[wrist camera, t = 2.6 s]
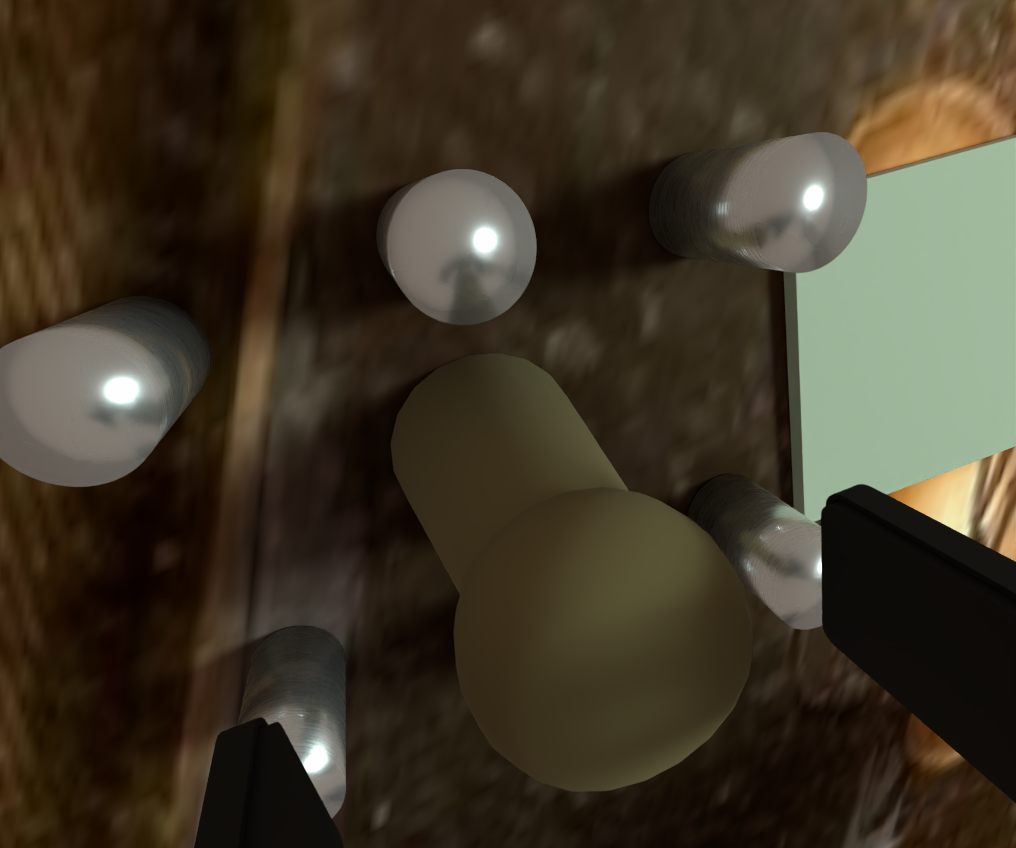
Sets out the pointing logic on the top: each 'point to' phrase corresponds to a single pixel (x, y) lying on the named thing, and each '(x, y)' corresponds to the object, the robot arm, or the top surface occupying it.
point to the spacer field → (456, 300)
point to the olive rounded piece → (567, 582)
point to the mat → (908, 331)
